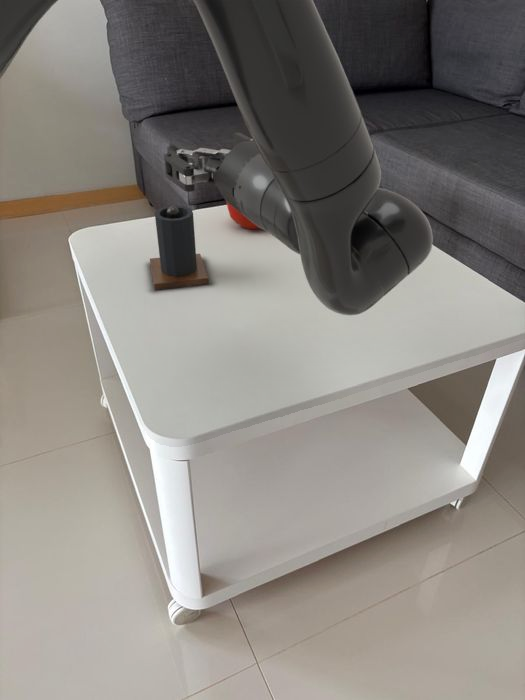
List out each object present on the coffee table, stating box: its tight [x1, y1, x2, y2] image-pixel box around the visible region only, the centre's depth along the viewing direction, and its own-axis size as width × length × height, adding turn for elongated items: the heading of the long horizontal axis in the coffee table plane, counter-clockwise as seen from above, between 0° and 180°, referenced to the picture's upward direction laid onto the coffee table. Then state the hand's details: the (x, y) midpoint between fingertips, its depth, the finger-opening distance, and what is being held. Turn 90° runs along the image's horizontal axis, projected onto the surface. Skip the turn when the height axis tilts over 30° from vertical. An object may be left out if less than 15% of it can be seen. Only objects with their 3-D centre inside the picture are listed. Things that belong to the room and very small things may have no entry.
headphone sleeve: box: [154, 204, 197, 277], centre depth 90 cm, size 6×6×10 cm
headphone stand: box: [149, 205, 209, 291], centre depth 90 cm, size 9×9×12 cm
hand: (204, 145), depth 67 cm, fingers open, 8 cm apart
